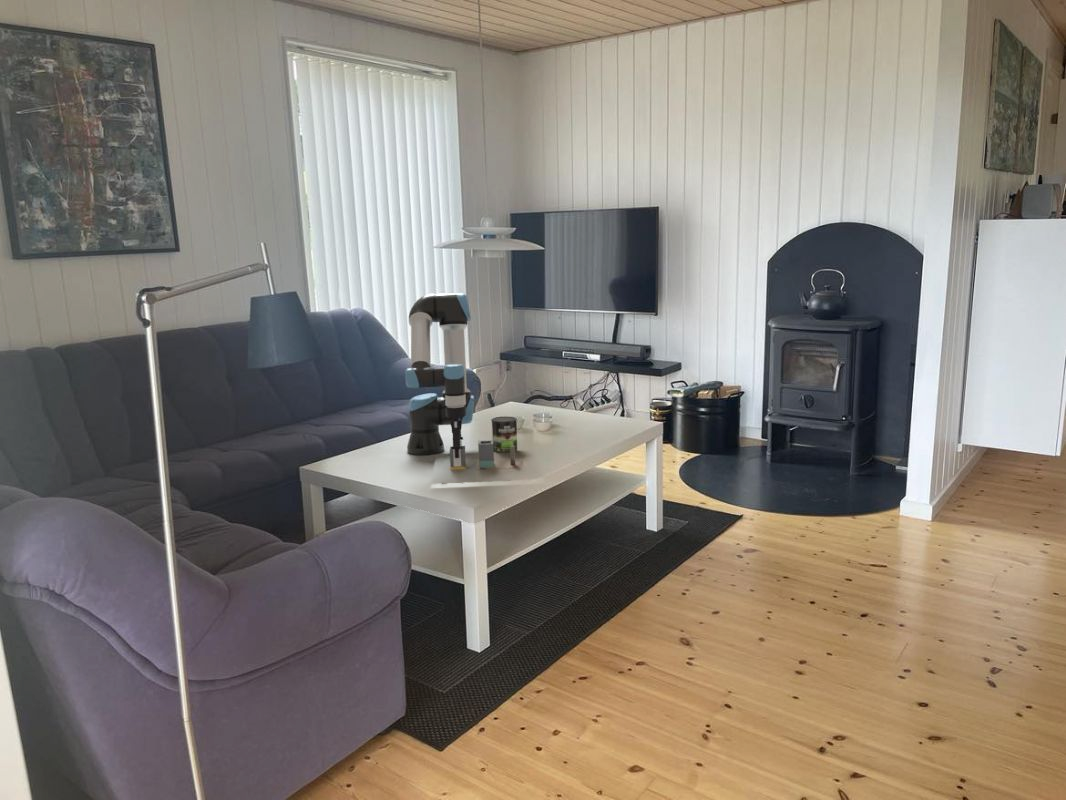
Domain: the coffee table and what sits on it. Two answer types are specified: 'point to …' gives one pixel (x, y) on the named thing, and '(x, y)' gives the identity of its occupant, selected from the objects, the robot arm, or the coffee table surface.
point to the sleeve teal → (486, 454)
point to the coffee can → (504, 433)
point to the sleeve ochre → (463, 459)
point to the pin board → (505, 462)
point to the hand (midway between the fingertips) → (458, 461)
